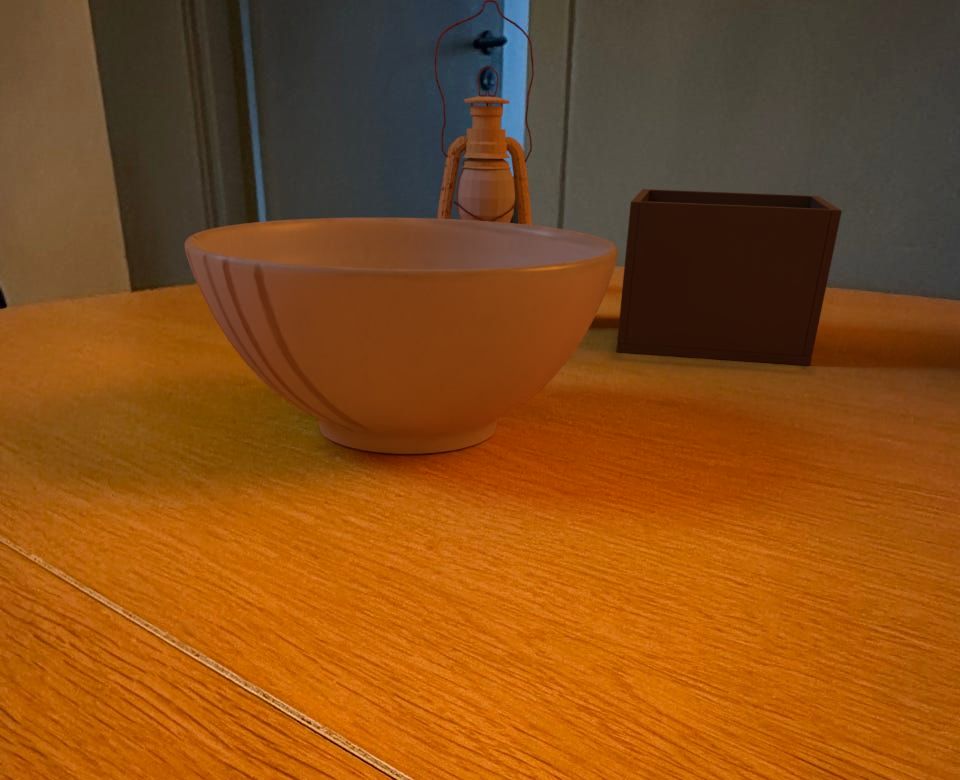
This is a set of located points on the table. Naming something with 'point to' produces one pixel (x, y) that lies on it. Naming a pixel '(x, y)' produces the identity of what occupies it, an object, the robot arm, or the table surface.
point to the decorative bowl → (402, 318)
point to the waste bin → (726, 275)
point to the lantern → (486, 161)
